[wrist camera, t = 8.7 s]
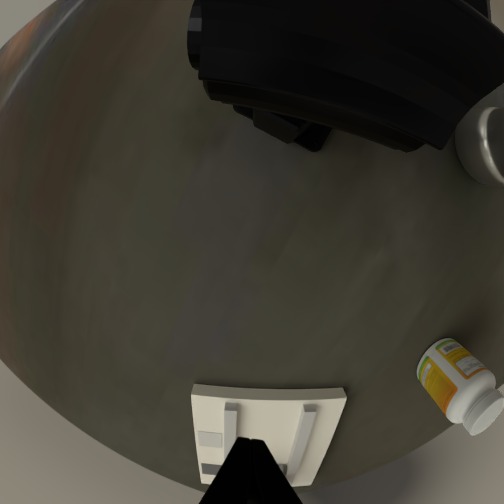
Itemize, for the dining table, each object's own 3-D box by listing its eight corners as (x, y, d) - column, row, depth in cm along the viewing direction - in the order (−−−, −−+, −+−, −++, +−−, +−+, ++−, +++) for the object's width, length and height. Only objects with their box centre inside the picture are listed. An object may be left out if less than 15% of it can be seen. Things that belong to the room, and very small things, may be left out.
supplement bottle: (426, 388, 22) (470, 447, 13) (406, 367, 21) (456, 434, 12) (462, 352, 21) (514, 402, 12) (446, 326, 21) (508, 380, 11)
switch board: (194, 383, 22) (188, 402, 19) (342, 387, 22) (350, 405, 19) (202, 474, 25) (200, 489, 23) (309, 476, 25) (311, 491, 23)
